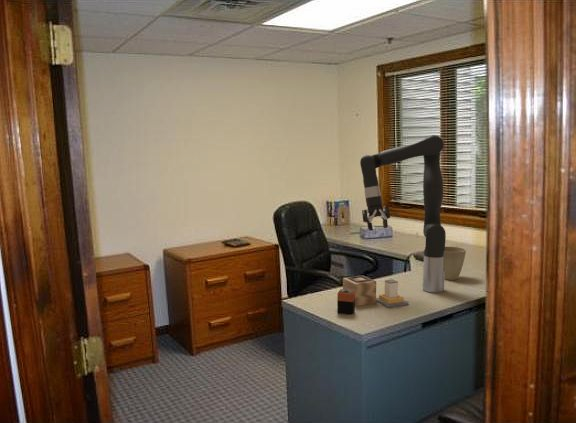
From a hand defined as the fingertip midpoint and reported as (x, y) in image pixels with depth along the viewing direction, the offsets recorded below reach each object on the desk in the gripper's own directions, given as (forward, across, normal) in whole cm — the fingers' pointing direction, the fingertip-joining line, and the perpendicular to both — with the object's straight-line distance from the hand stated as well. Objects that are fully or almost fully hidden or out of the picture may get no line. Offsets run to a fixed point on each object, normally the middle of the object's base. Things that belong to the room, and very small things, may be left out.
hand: (378, 229), depth 236 cm
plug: (+32, -8, -13) cm, 35 cm away
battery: (+32, -34, -16) cm, 49 cm away
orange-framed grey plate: (+33, -9, -13) cm, 36 cm away
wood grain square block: (+30, -20, -5) cm, 37 cm away
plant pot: (+34, +45, +8) cm, 57 cm away
